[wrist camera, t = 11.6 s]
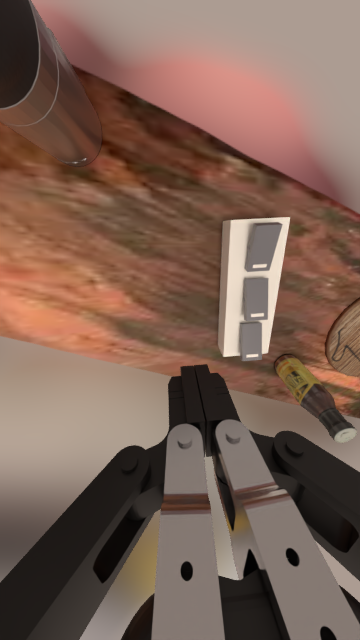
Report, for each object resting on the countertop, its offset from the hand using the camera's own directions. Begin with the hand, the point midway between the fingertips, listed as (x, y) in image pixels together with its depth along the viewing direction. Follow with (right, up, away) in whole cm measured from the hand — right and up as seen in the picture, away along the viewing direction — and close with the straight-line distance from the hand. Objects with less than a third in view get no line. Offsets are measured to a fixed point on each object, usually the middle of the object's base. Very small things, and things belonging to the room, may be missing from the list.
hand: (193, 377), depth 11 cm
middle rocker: (+13, +7, +27) cm, 31 cm away
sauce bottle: (+27, -8, +41) cm, 50 cm away
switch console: (+13, +10, +32) cm, 36 cm away
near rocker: (+13, +16, +23) cm, 31 cm away
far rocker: (+14, -1, +31) cm, 33 cm away
